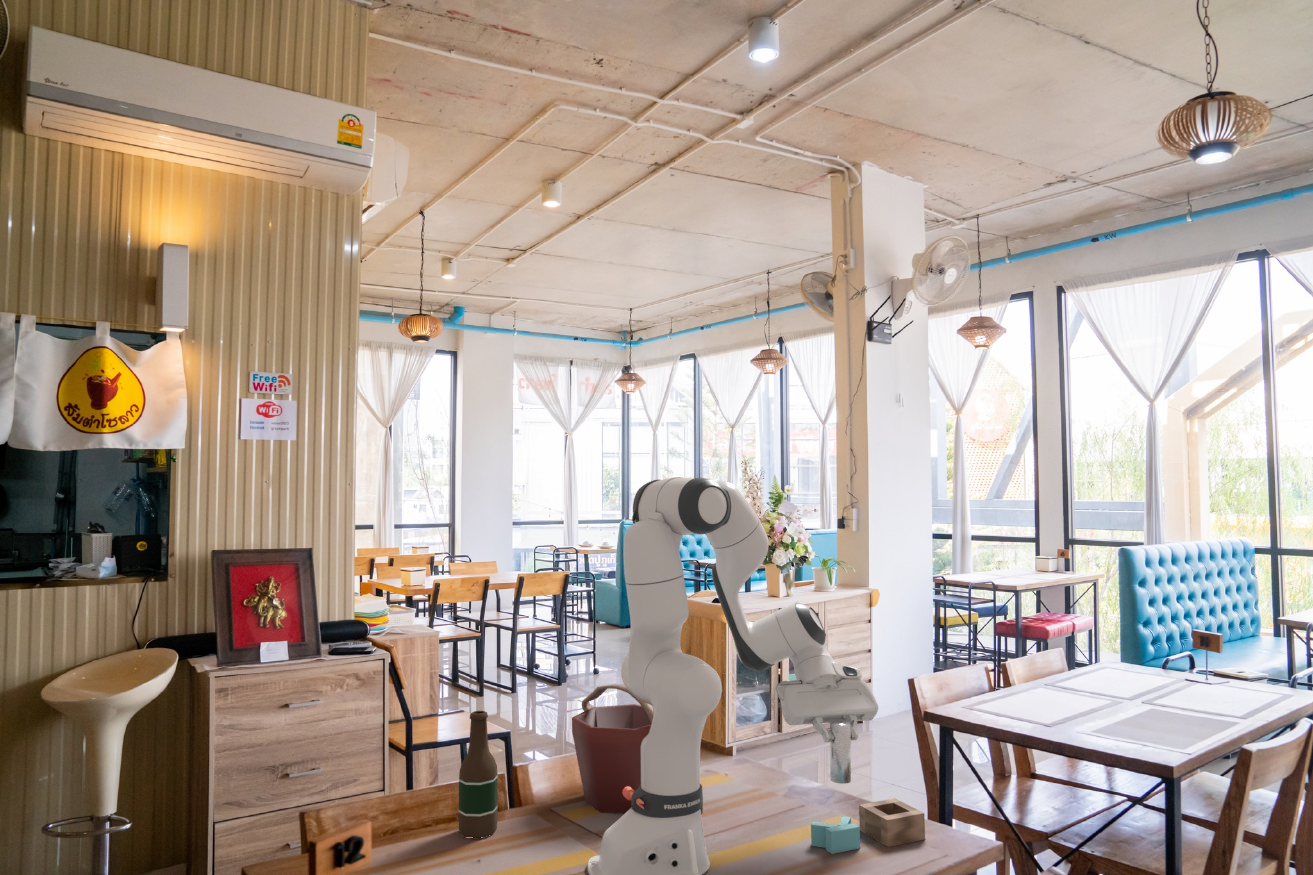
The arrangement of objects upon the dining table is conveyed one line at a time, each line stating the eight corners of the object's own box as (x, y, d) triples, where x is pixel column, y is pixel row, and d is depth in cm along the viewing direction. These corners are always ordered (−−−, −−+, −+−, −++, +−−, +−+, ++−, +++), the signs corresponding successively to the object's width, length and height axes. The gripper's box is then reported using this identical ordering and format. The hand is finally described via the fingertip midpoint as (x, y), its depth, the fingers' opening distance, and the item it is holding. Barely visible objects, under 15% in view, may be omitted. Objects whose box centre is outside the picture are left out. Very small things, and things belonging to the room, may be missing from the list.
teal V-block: (825, 855, 158) (824, 833, 158) (808, 843, 163) (807, 822, 164) (866, 846, 162) (865, 825, 162) (848, 835, 167) (847, 815, 167)
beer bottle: (450, 835, 169) (451, 714, 171) (475, 822, 176) (476, 705, 178) (480, 842, 165) (481, 718, 167) (505, 828, 172) (505, 709, 174)
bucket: (559, 792, 194) (559, 682, 196) (644, 776, 204) (643, 672, 206) (603, 827, 172) (603, 704, 174) (695, 808, 183) (694, 691, 185)
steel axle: (837, 784, 163) (837, 726, 164) (826, 778, 167) (826, 721, 168) (855, 782, 165) (854, 724, 166) (843, 776, 169) (843, 720, 170)
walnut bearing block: (887, 846, 162) (887, 820, 162) (859, 829, 170) (858, 804, 170) (925, 839, 165) (924, 813, 165) (895, 823, 173) (895, 798, 174)
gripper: (778, 672, 171) (799, 734, 161) (866, 669, 177) (892, 728, 167) (769, 690, 175) (789, 751, 165) (856, 686, 181) (880, 745, 171)
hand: (841, 739), depth 166 cm, fingers closed on steel axle, 4 cm apart
